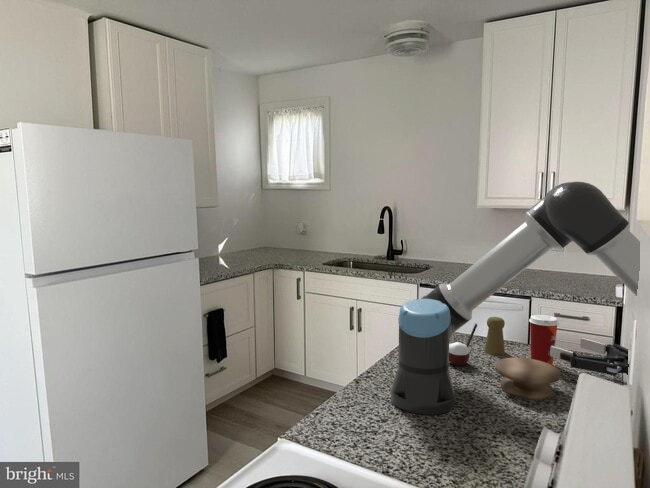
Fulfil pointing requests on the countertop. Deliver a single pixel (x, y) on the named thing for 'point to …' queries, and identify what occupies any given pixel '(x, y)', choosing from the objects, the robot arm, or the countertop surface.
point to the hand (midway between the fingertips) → (566, 346)
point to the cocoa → (460, 351)
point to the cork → (495, 336)
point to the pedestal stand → (527, 377)
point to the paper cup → (542, 337)
